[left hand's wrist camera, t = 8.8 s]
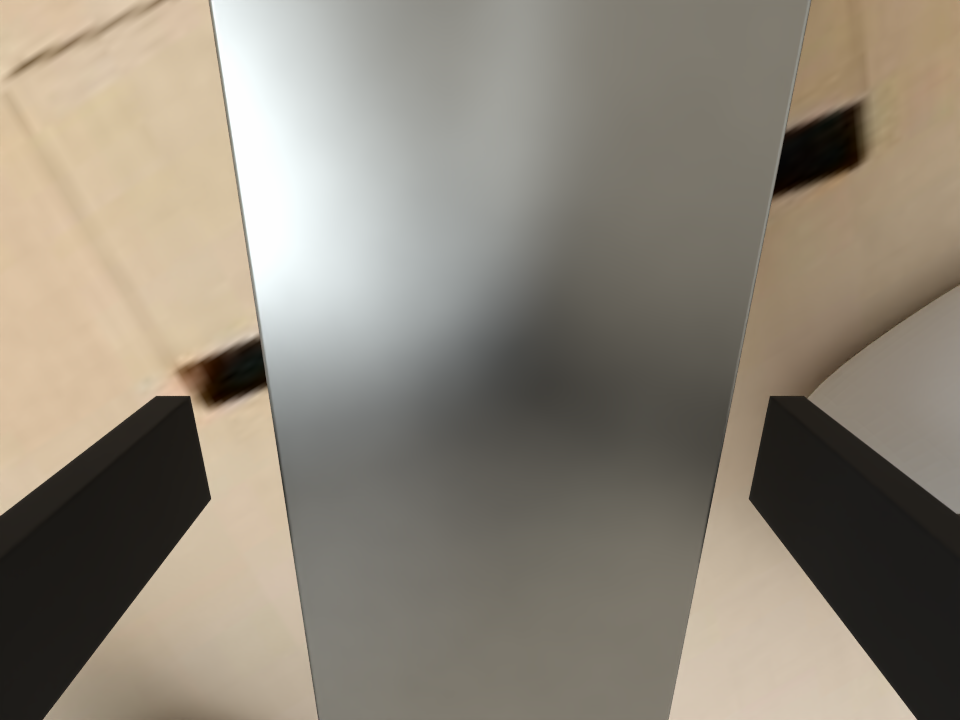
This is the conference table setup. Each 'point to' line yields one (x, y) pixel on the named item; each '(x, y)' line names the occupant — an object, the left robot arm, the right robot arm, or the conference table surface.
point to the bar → (502, 328)
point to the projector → (907, 397)
